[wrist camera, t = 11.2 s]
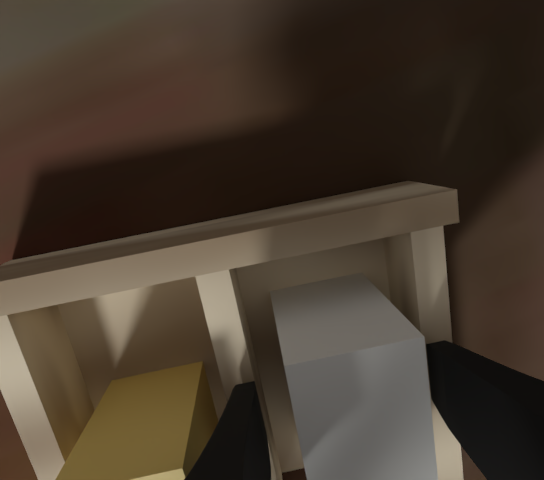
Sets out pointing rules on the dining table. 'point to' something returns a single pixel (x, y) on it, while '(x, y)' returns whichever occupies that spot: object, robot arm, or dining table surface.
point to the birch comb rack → (211, 309)
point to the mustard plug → (146, 428)
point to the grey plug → (355, 382)
